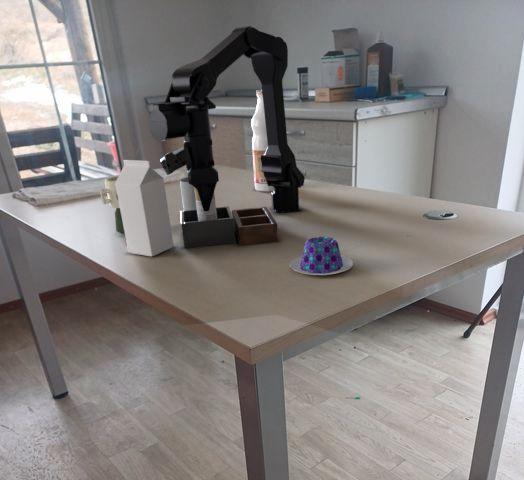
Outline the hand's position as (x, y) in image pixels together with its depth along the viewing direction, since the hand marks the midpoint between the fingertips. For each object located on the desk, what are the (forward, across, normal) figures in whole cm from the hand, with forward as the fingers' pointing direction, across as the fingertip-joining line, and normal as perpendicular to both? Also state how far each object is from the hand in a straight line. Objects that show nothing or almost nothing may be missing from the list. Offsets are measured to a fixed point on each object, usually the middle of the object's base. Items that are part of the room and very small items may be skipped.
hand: (205, 208), depth 118 cm
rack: (+7, 0, +11) cm, 13 cm away
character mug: (+7, -12, -19) cm, 24 cm away
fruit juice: (+7, -47, +22) cm, 52 cm away
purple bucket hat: (+7, +27, +20) cm, 34 cm away
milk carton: (+7, +5, -13) cm, 16 cm away
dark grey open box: (+7, 0, 0) cm, 7 cm away
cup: (+7, -19, -1) cm, 20 cm away
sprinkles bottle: (+6, 0, 0) cm, 6 cm away
